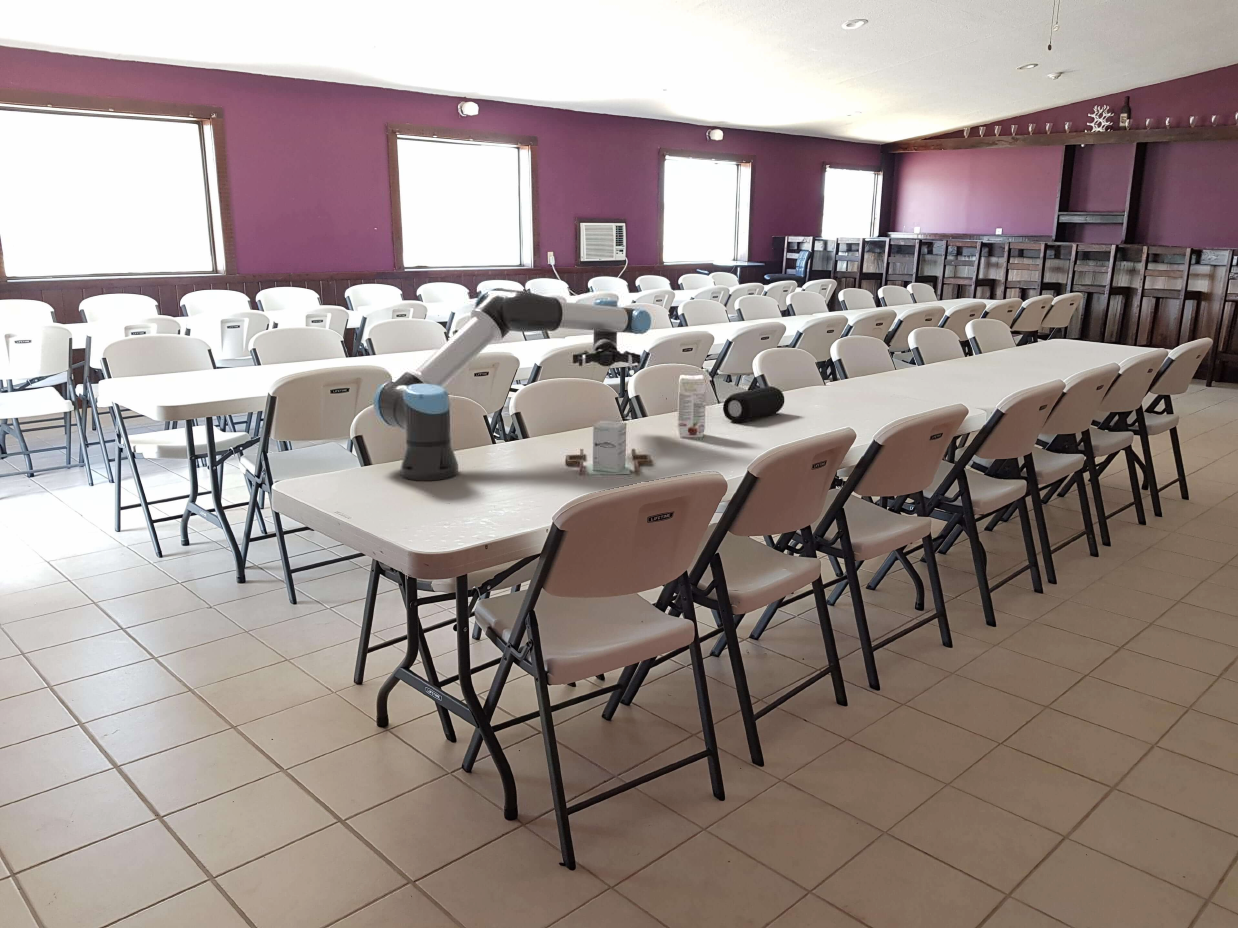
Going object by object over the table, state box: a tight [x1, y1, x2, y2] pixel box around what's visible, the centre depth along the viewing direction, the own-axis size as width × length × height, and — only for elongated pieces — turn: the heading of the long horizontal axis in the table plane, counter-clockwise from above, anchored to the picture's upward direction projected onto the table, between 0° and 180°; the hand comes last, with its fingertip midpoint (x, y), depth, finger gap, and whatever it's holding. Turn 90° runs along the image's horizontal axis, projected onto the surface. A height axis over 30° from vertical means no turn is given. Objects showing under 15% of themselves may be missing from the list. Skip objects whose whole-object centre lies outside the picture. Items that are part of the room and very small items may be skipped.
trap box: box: [564, 448, 653, 476], centre depth 264 cm, size 24×24×2 cm
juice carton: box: [677, 374, 707, 439], centre depth 298 cm, size 8×9×19 cm
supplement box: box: [592, 420, 628, 473], centre depth 257 cm, size 7×7×13 cm
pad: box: [588, 463, 631, 476], centre depth 258 cm, size 11×10×1 cm
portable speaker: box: [722, 386, 785, 424], centre depth 327 cm, size 26×10×10 cm, turn 138°
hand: (607, 362), depth 274 cm, fingers open, 13 cm apart
